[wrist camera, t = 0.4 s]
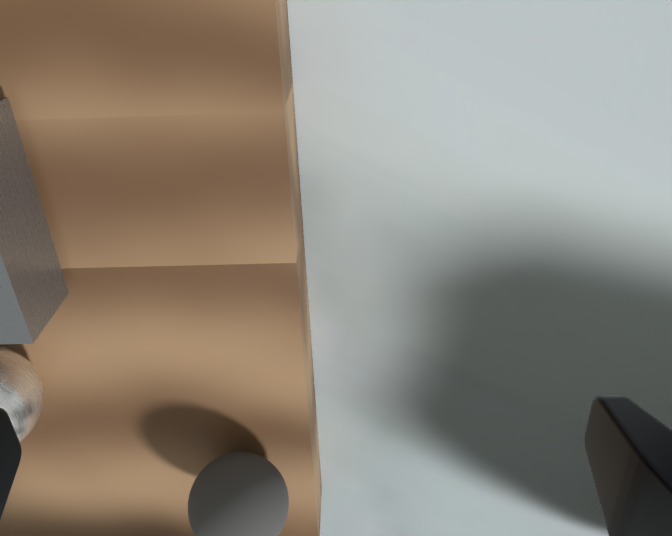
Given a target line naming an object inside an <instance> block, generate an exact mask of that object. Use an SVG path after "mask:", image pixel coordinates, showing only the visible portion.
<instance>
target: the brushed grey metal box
mask: <svg viewBox="0 0 672 536" xmlns="http://www.w3.org/2000/svg"><path fill="white" fill-rule="evenodd" d="M68 294H69V291H68V288H67V285H66V282H65V278H64V275H63V272H62V269H61V265H60V262H59V259H58V256H57V253H56V249H55V246H54V243H53V240H52V237H51V233H50V230H49V227H48V224H47V220H46V217H45V214H44V211H43V208H42V204H41V201H40V198H39V195H38V192H37V188H36V185H35V182H34V179H33V175H32V172H31V169H30V166H29V163H28V159H27V156H26V153H25V150H24V146H23V143H22V140H21V137H20V134H19V130H18V127H17V124H16V121H15V118H14V114H13V111H12V108H11V105H10V101H9V98H8V97H0V344H33V343H34V342H35V341H36V339H37V338H38V336H39V335H40V333H41V332H42V331H43V329H44V328H45V326H46V325H47V324H48V322H49V321H50V319H51V318H52V317H53V315H54V314H55V312H56V311H57V309H58V308H59V307H60V305H61V304H62V302H63V301H64V300H65V298H66V297H67V295H68Z"/></svg>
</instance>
